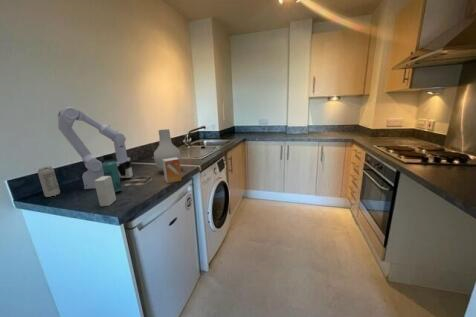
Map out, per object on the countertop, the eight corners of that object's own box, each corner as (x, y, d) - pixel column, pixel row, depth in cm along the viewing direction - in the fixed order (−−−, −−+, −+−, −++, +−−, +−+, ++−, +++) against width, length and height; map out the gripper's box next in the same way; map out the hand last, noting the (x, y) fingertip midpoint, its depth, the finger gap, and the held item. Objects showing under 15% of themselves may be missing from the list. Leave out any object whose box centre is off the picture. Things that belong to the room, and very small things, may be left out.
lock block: (118, 178, 122) (116, 169, 121) (121, 176, 126) (120, 167, 125) (129, 177, 122) (128, 169, 121) (132, 175, 126) (131, 167, 125)
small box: (167, 183, 112) (164, 161, 109) (164, 180, 117) (161, 159, 114) (182, 180, 116) (179, 158, 113) (178, 177, 121) (176, 156, 118)
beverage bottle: (109, 192, 104) (100, 154, 99) (123, 189, 107) (116, 152, 102) (106, 196, 98) (97, 157, 94) (121, 193, 101) (114, 155, 96)
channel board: (124, 186, 112) (123, 181, 111) (132, 180, 120) (131, 176, 120) (146, 184, 112) (145, 180, 111) (152, 179, 121) (151, 175, 120)
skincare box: (107, 200, 94) (101, 176, 91) (116, 199, 94) (111, 175, 91) (99, 206, 88) (93, 180, 85) (109, 205, 88) (104, 180, 85)
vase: (187, 168, 140) (182, 128, 133) (172, 176, 125) (166, 131, 118) (166, 167, 145) (161, 128, 138) (150, 174, 130) (143, 131, 123)
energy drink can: (57, 192, 107) (49, 165, 103) (63, 194, 104) (55, 166, 101) (43, 197, 102) (34, 168, 98) (48, 199, 99) (39, 170, 96)
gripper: (121, 155, 114) (125, 178, 117) (133, 150, 128) (137, 170, 131) (108, 155, 114) (113, 178, 117) (122, 151, 128) (126, 171, 131)
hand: (125, 174), depth 124 cm, fingers closed on lock block, 4 cm apart
